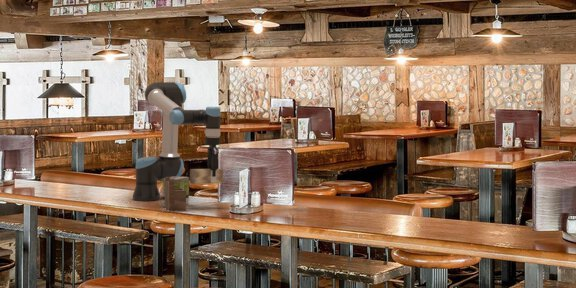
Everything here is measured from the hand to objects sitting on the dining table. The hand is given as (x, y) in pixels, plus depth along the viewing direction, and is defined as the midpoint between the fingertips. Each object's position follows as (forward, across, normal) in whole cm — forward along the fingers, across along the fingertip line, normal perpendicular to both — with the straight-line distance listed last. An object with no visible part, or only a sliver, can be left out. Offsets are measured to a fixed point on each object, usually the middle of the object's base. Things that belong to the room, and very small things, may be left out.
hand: (212, 182), depth 456 cm
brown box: (+13, +1, -19) cm, 23 cm away
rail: (0, 0, -3) cm, 3 cm away
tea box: (+14, -15, -16) cm, 26 cm away
